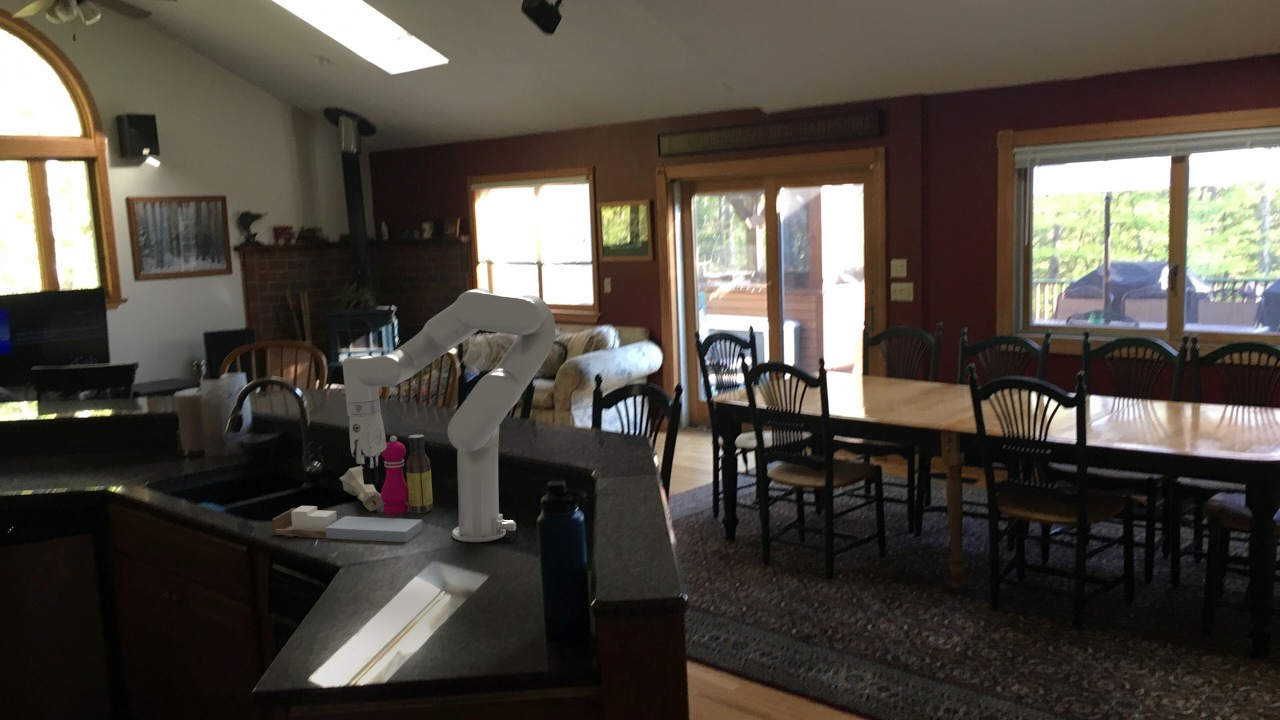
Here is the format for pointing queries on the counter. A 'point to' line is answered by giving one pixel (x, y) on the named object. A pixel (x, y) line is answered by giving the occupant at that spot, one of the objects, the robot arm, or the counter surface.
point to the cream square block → (301, 517)
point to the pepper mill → (394, 479)
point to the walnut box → (284, 526)
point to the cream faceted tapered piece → (361, 488)
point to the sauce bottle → (418, 476)
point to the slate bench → (374, 529)
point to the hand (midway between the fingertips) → (371, 483)
